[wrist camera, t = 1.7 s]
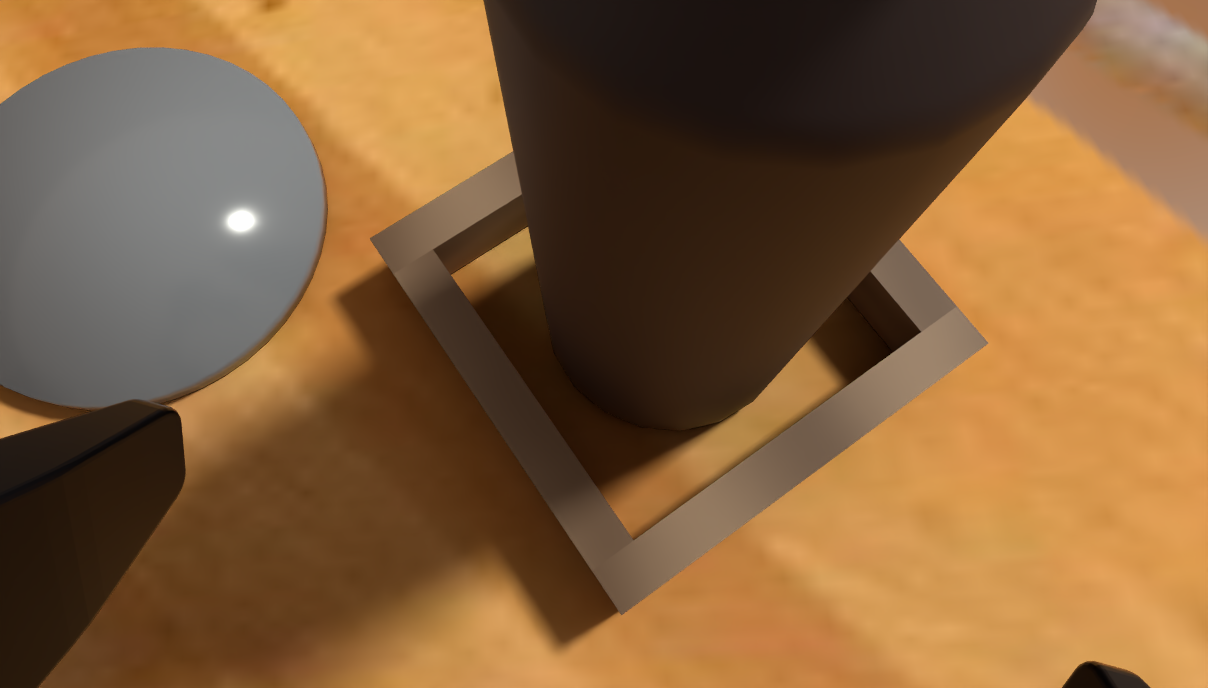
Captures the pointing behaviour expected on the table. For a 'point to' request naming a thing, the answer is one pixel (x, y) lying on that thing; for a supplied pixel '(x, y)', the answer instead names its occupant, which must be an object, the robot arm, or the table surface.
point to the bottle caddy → (622, 565)
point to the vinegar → (739, 169)
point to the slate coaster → (149, 226)
